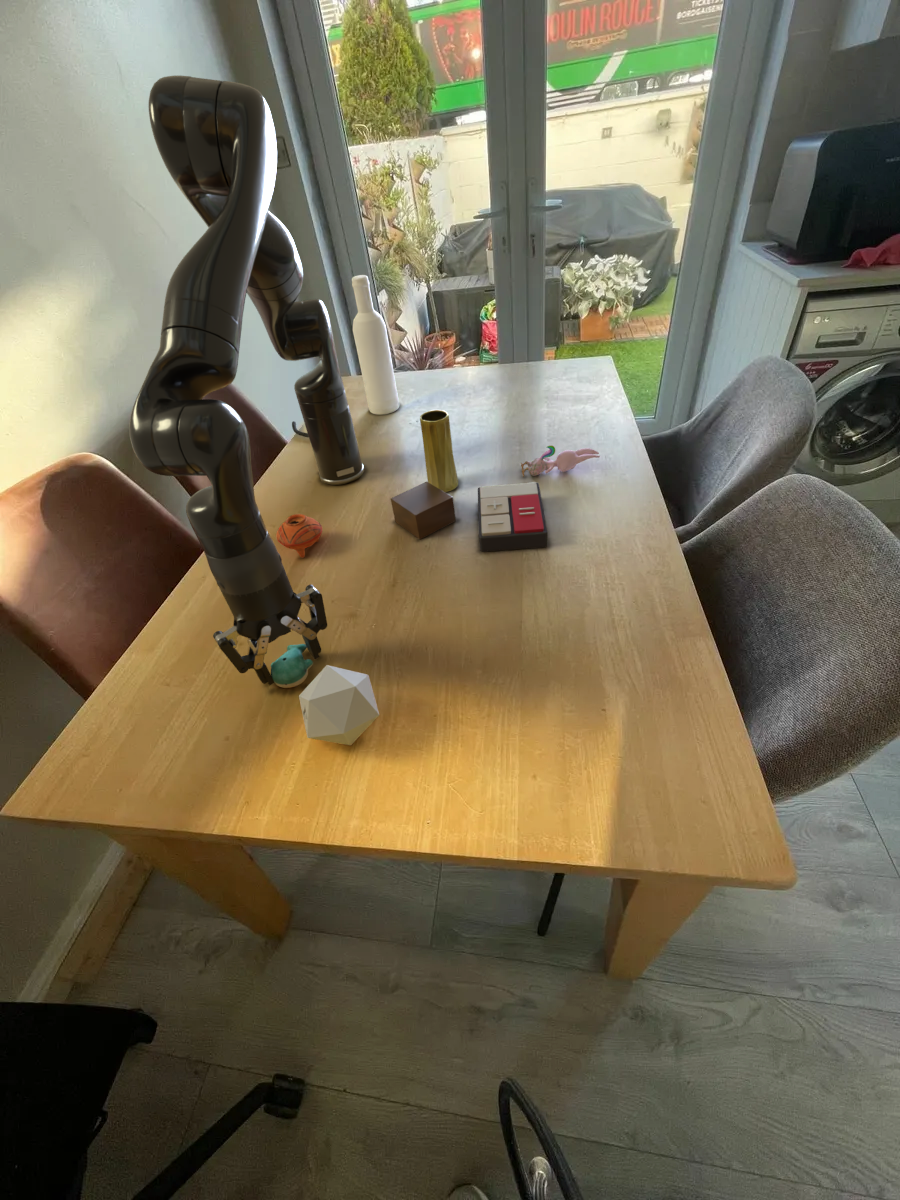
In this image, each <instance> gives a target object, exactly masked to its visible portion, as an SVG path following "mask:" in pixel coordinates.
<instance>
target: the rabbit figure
mask: <svg viewBox="0 0 900 1200" xmlns="http://www.w3.org/2000/svg"><path fill="white" fill-rule="evenodd" d="M546 448H547V449H548V450H546V451H544V452H543V454H542V455H540V457H537V458H534V459H533V460H531V461H528V460H526V461H524V463H522V462H520V464H521V465H520V468H521V475H522V477H523V478H524V477H525V473H526V471H527V472H528V473H529V474H530V476H533V477H536V476H538V475H540V474H542V473H543V472H544V473H545V474H548V473H550V472H551V471H552V470H553V469H554V468H557V470H558V471H560V472H561V473H565V472H568V471H569V470H573V469H574V468H575V467H576V466H577V465H578V464H580V463H583V462H585V461H586V460H589V459H593V458H596V459H597V458H601V455H599V454H600V452H598V451H597V450H595V449H593V448H589V447H583V448H579V449H576V450H571V449H566V450H563V451H561V452H559V453H558V455H557V456H556V459H555V460H553V459H551V458H550V457H553V456H554V455H555V454H556V447H555V446H554V445H548V446H546ZM525 465H526V466H527V467H526V468H524V467H525Z"/></svg>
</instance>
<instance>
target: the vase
mask: <svg viewBox="0 0 900 1200" xmlns="http://www.w3.org/2000/svg"><path fill="white" fill-rule="evenodd" d="M419 421H420V422H419V424H420V428H421V436H422V437H421V438H422V445H423V453H424V461H425V469H426V478H427V482H428V483H430V484H432V485H434V486H435V487H437V488H439V489H440V490H442V491H444V492H445V493H448V492H452V491H453V490H455V489H456V488H457V487H458V486H459V479H458V473H457V468H456V463H455V458H454V451H453V441H452V432H451V424H450V423H451V422H450V415H449V413H448V412H447V411H445V410H441V409H431V410H428V411H425V412H423V413H422V414H421V415H420V417H419Z"/></svg>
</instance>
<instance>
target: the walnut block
mask: <svg viewBox="0 0 900 1200" xmlns="http://www.w3.org/2000/svg"><path fill="white" fill-rule="evenodd" d="M390 502H391V508H392V513H393V517H394V522H395V523H396V524H397V525H398V526H400V527H402V528H403V529H405V530H406V531H407V532H409V533H410V534H411V535H413V536H414V537H416V538H417V539H418V540H422V539H424V538H426V537H428V536H430V535H432V534H433V533H435V532H438V531H440V530H441V529H443V528H445V527H447V526H448V525H451V524H453V523H455V522H456V519H457V517H456V512H455V511H456V509H455V503H454V496H452V495H451V494H449V493H448V492H444V491H442V490H440V489H439V488H437V487H435V486H434V485H432V484H430V483H428V481H425V482H423V483H420V484H418V485H416V486H414V487H412V488H410V489H407V490H406V491H403V492H401V493H399V494H397V495H394V496H393V497H391V498H390Z"/></svg>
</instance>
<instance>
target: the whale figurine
mask: <svg viewBox="0 0 900 1200" xmlns="http://www.w3.org/2000/svg"><path fill="white" fill-rule="evenodd" d="M307 650H308V649H307V646H306V644H305V643H299V644H289V645H287V646H286V651H285V652H284V653H283V654H282V655H280V656H279V657H278V658H277V659H276V660H274V661H272V663H271V664H270V674H271V676H272V678H273V681H274V684H275V685H276V686H278V687H280V688H284V689H288V688H295V687H298V686H300V685H301V684H303V683H304V682H305V681H306V679H307V678H308V675H309V669H310V668H312V666H313V665H314V661H313V660H312V659H310V658H306V659H305V658H304V656H303V654H304V653H305V652H306V651H307Z"/></svg>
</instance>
